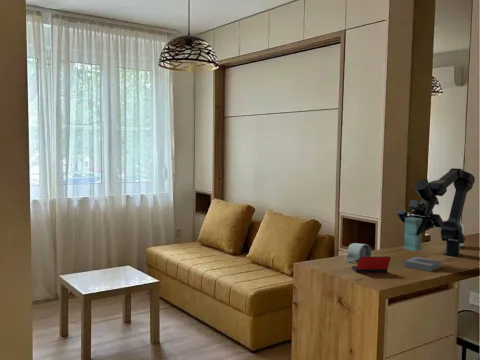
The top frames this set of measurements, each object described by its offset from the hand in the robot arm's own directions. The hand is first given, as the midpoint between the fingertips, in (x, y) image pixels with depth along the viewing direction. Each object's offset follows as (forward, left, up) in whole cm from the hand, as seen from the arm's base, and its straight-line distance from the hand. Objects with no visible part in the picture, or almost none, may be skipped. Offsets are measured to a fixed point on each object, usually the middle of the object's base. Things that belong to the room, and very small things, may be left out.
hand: (411, 233), depth 193 cm
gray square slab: (-1, +5, -13) cm, 14 cm away
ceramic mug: (+9, -20, -14) cm, 26 cm away
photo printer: (-54, -1, -14) cm, 56 cm away
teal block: (-1, 0, -7) cm, 7 cm away
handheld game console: (+21, -7, -14) cm, 26 cm away
